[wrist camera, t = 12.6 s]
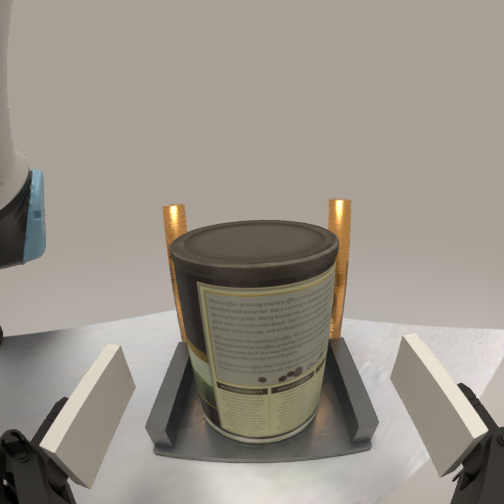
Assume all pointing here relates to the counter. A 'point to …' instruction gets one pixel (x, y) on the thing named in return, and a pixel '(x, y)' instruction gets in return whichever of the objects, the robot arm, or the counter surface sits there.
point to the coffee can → (257, 322)
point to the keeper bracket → (331, 397)
